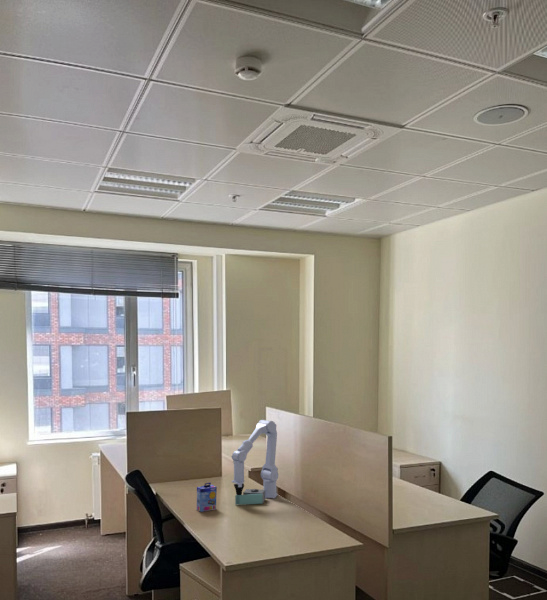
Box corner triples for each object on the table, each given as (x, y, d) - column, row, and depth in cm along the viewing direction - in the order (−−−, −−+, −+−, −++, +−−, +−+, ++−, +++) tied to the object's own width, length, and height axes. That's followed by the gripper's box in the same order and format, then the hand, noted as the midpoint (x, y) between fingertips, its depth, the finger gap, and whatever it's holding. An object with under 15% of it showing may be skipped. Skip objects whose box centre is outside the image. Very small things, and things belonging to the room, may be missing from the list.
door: (235, 504, 325) (235, 495, 326) (263, 503, 327) (263, 493, 328) (235, 505, 324) (235, 495, 324) (263, 503, 326) (263, 494, 326)
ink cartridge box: (200, 512, 312) (200, 484, 313) (195, 509, 316) (196, 482, 317) (217, 509, 317) (217, 482, 318) (212, 507, 321) (212, 480, 322)
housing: (246, 498, 338) (246, 487, 338) (265, 499, 336) (265, 488, 336) (243, 502, 330) (243, 491, 330) (262, 503, 328) (262, 492, 328)
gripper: (230, 470, 335) (230, 494, 334) (232, 475, 321) (232, 501, 320) (243, 469, 336) (243, 493, 335) (245, 475, 322) (245, 500, 321)
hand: (238, 497), depth 328 cm, fingers closed
